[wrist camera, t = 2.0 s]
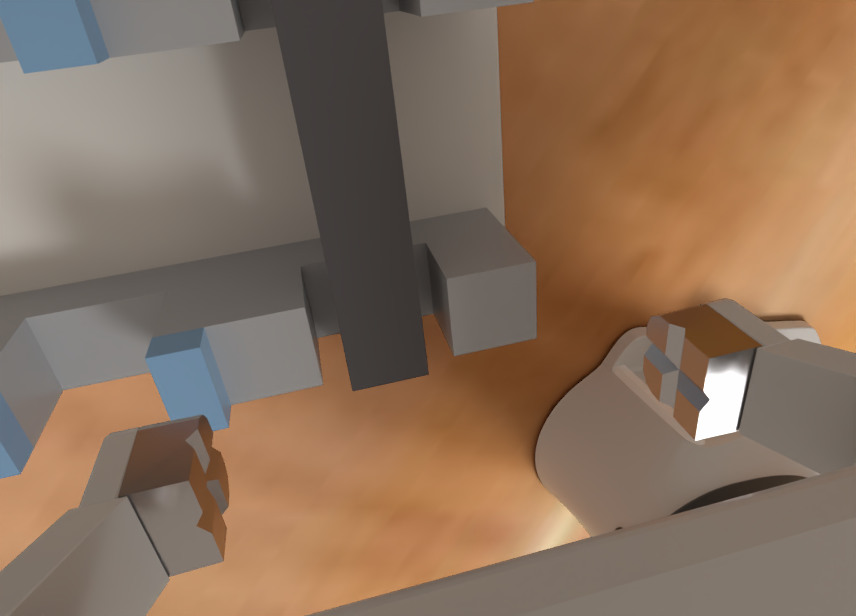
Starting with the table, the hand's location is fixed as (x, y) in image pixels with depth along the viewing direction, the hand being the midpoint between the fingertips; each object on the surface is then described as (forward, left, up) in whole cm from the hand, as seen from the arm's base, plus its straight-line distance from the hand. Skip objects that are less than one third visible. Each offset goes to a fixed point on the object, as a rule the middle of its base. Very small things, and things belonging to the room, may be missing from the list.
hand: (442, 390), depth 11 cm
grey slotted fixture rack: (+6, 0, -21) cm, 22 cm away
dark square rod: (0, 0, -17) cm, 17 cm away
